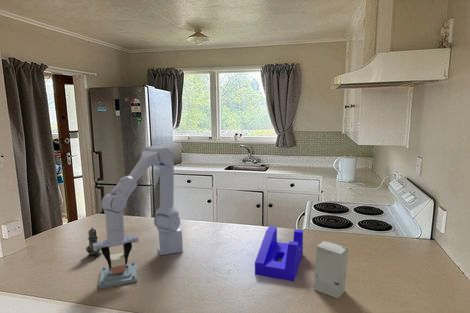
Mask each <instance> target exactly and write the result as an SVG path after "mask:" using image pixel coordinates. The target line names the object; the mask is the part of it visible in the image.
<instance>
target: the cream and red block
mask: <svg viewBox="0 0 470 313" xmlns="http://www.w3.org/2000/svg"><path fill="white" fill-rule="evenodd" d="M110 261H111V272H112V274H116V273H120V272H124V271H126V267H125V257H124V252H120V253H114V254H110Z"/></svg>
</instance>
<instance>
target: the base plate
mask: <svg viewBox="0 0 470 313" xmlns="http://www.w3.org/2000/svg"><path fill="white" fill-rule="evenodd" d="M125 267H126V271H124V272H120V273H116V274H112V272H111V268H109V266H108V267H107V266H103V267H101V270H100V275H99V280H98V285H97V286H98V289H105V288H110V287H116V286H120V285H121V286H122V285H127V284H133V283H138V276H137V275H138V273H137V270H138V269H137V262H135V261H132V262H131V263H127V265H125Z"/></svg>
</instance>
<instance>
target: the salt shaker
mask: <svg viewBox="0 0 470 313" xmlns="http://www.w3.org/2000/svg"><path fill="white" fill-rule="evenodd" d="M87 233H88V238H87V240H88V245H87V246H86V247H85V251H86V252H87V254H88V255H87V256H86V258H87V259H96V258H99V257H101V256H102V252H100V251H101V249H98V250H97V251H94V249H93V244H94V243H98V239H99V238H98V236H97V230H96V229H95V228H93V226H92V227H91V228H90V229H89V230H88V232H87Z"/></svg>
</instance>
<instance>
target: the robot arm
mask: <svg viewBox="0 0 470 313" xmlns="http://www.w3.org/2000/svg"><path fill="white" fill-rule="evenodd" d="M173 153H174V152H173V151H172V150H171V149H170V148H169V147H167V146H154V145H153V146H152V145H148V146H146V147H145V149H144V150H143V151H142V152H141V156H140V158H139V160H138V162H137V163H136V164H135V166H134V167H133V169H132V170H131V172H130V173H129V174H128V175H125V176H123V177H121V178H119V181H118V183H117V184H116V185H115V186H114V188H112V189H111V190H110V193H108V194H105V195H103V197H102V199H101V202H100V207H101V208H102V209H103V212H104V216H105V229H106V231H105V232H106V239H104V240H101V241H99V242H98V241H97V243H94V244H93V249H94V251H97V250H98V249H100V251H101V255H103V257H104V258H105V260H106V262H107V266H108V267H109V268H111V261H110V255H111V251H110V248H112V247H117V246H122V247H123V254H124V257H125V265H127V264H128V259H129V256H130V253H131V251H132V249H133V245H132V244H133V243H135V244H137V243H139V236H138V235H130V236H128V235H127V236H125V235H126V234H125V233H126V232H125V225H124V224H125V219H124V209H126V207H127V203H128V202H127V201H128V200H129V197H130V196H131V194H132V193H133V191H135V189H136V188H137V186H138V183H137V181H138V180H139V179H140V178H141V177H142V176H143V175H144V174H145V172H147V170H149V168H150V167H152V166H153V167H154V166H156V167H157V168H158V170H159V207H158V208H157V209H156V210H155V215H154V218H153V224H154V227H156V228H157V231H158V246H157V249H158V254H159V256H164V255H171V254H177V253H183V252H184V249H183V248H184V247H183V246H184V245H183V233H182V229H181V227H180V225H181V219H180V216H179V215H180V214H179V211H178V210H177V208H175V206H174V200H175V199H174V195H175V194H174V193H175V191H174V189H175V187H174V182H175V181H174V180H175V179H174V178H175V171H174V170H175V164H174V163H175V162H174V156H173V155H174V154H173Z"/></svg>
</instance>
